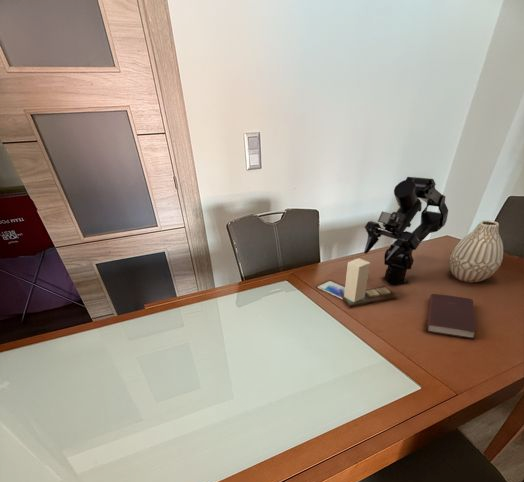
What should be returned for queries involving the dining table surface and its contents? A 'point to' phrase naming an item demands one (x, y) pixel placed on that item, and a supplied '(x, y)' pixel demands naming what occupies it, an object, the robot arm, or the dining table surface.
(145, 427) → the dining table surface
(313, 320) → the dining table surface
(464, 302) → the book
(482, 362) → the dining table surface
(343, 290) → the smartphone
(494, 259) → the vase
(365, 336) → the dining table surface
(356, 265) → the letter I
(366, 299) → the word board
